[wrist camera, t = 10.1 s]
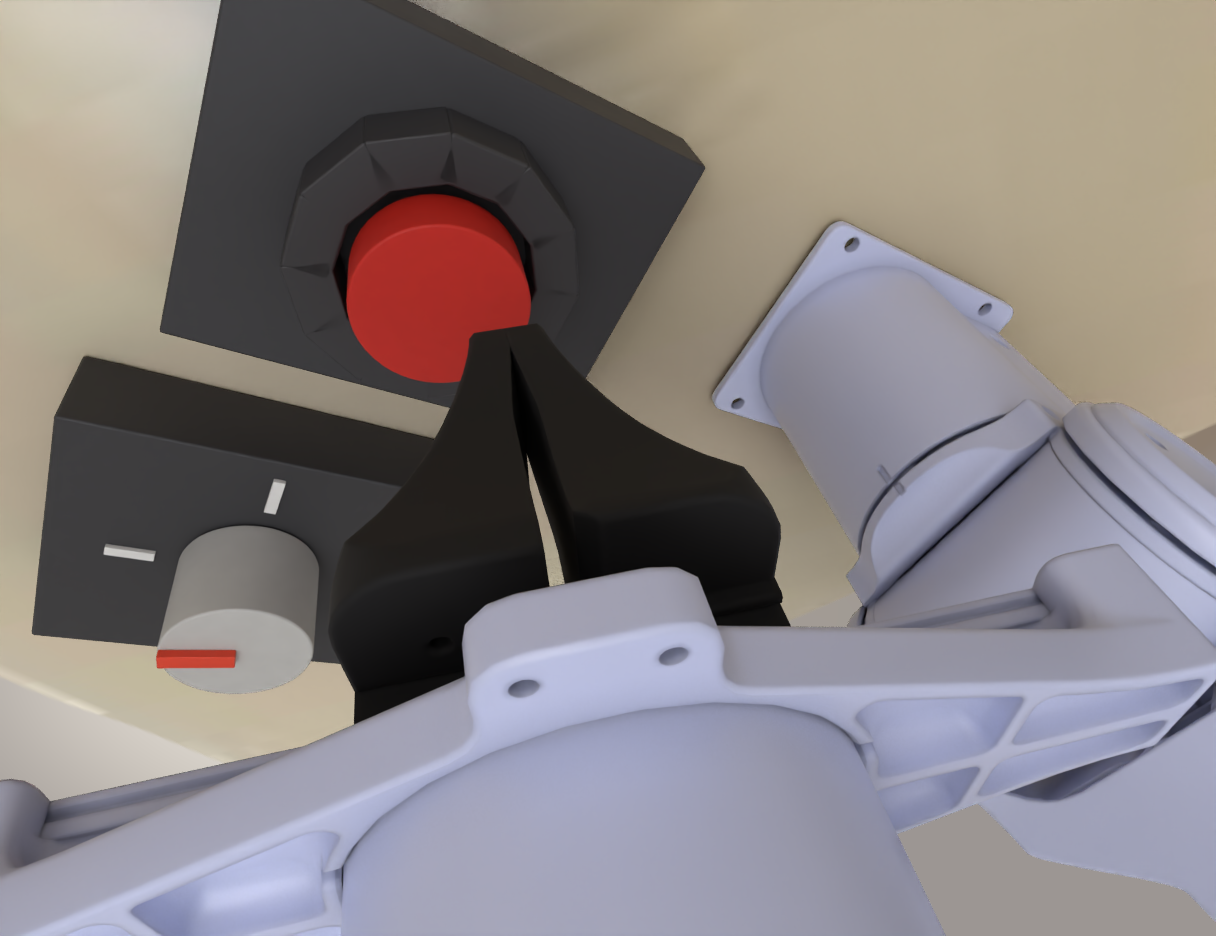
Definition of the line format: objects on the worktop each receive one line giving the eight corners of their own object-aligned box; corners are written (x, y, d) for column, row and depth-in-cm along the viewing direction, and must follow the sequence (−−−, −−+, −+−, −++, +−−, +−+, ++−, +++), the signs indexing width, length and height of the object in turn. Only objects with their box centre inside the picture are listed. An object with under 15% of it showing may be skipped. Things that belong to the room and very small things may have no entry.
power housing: (684, 138, 23) (728, 194, 20) (543, 397, 28) (563, 470, 25) (245, -82, 17) (219, -49, 14) (174, 292, 22) (144, 370, 20)
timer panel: (462, 445, 29) (469, 504, 26) (381, 610, 34) (381, 672, 32) (83, 354, 23) (51, 419, 21) (56, 569, 28) (29, 639, 26)
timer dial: (324, 528, 26) (318, 619, 23) (314, 610, 28) (307, 701, 26) (176, 520, 24) (150, 616, 22) (179, 608, 27) (157, 704, 24)
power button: (548, 231, 20) (560, 263, 19) (485, 365, 22) (491, 402, 21) (378, 163, 18) (378, 194, 17) (327, 319, 20) (324, 356, 19)
